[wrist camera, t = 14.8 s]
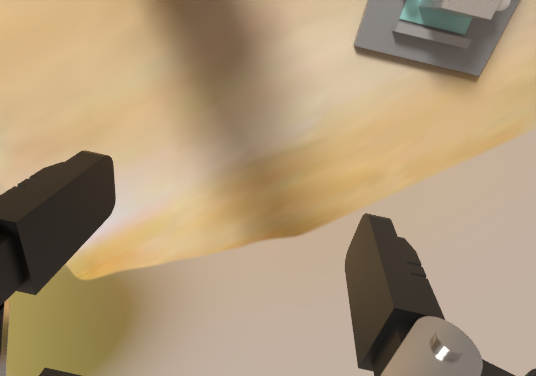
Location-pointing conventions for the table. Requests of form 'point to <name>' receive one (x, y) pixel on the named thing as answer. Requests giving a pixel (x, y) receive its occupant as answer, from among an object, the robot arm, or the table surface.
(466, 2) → the block
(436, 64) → the docking tray
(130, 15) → the table surface
